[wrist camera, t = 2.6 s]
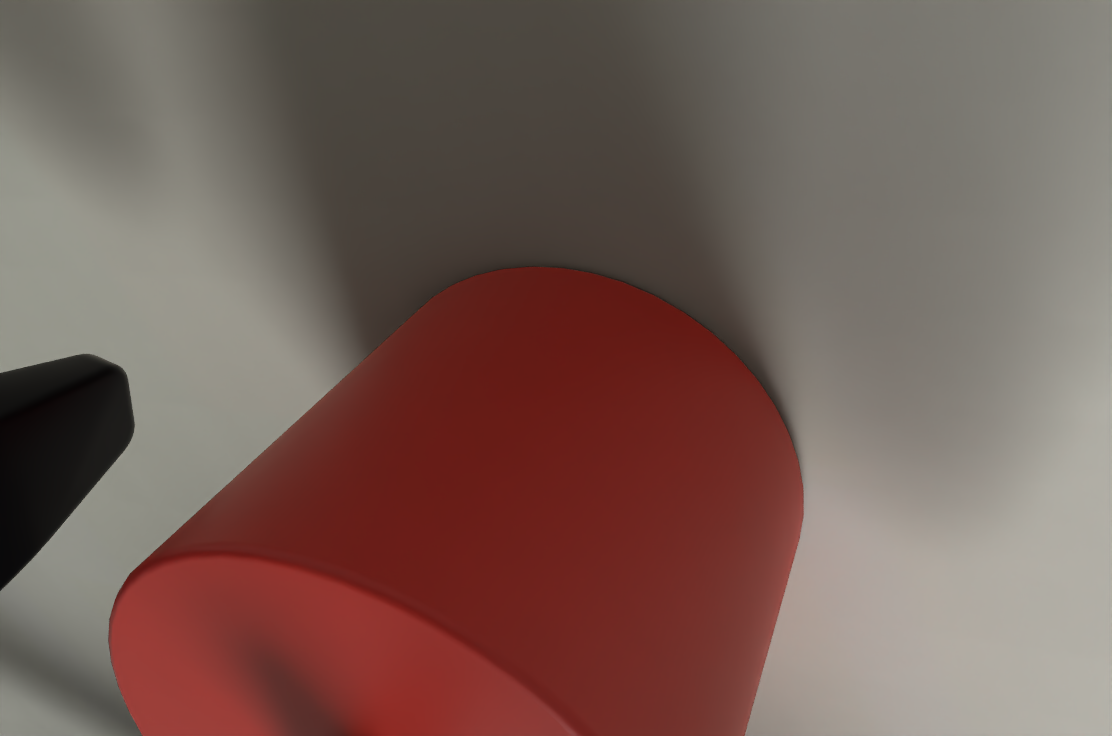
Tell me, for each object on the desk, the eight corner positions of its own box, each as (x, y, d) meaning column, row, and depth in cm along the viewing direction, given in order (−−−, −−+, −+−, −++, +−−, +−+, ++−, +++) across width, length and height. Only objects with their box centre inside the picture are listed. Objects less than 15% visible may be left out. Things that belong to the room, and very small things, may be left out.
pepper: (378, 528, 12) (35, 939, 8) (400, 197, 9) (-129, 567, 5) (728, 689, 11) (550, 1263, 7) (880, 371, 8) (733, 1033, 4)
